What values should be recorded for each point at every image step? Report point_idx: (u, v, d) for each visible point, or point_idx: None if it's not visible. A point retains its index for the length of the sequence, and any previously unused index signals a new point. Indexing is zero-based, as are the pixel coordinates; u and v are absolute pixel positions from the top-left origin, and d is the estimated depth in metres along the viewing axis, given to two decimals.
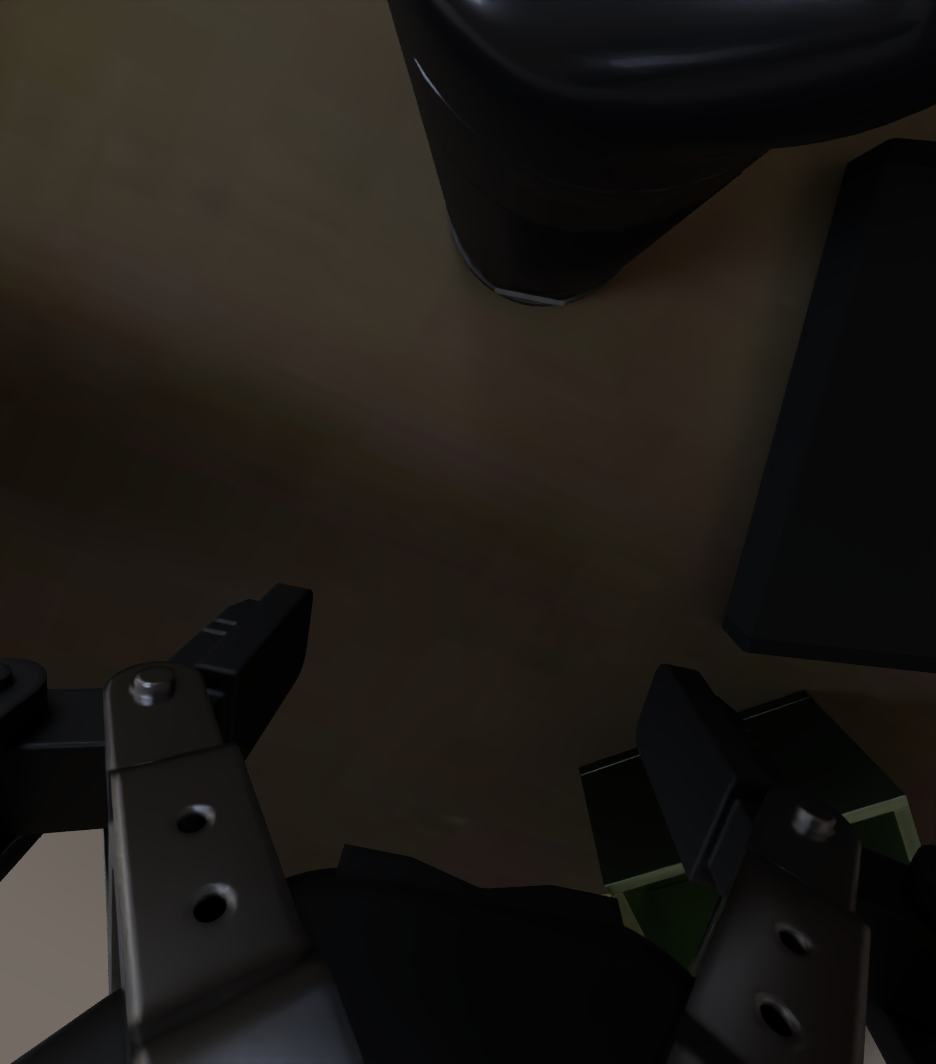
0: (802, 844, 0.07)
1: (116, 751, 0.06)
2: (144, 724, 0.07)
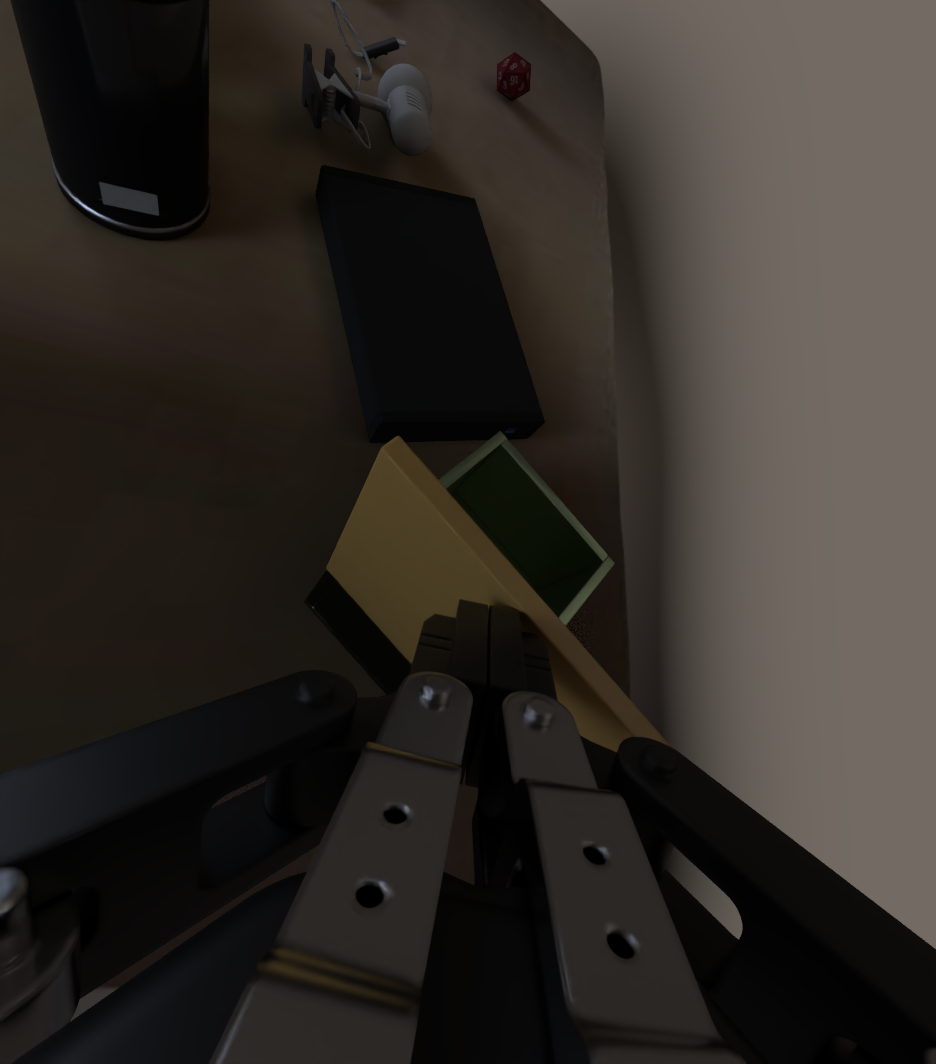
0: (512, 729, 0.08)
1: (387, 732, 0.07)
2: (454, 729, 0.08)
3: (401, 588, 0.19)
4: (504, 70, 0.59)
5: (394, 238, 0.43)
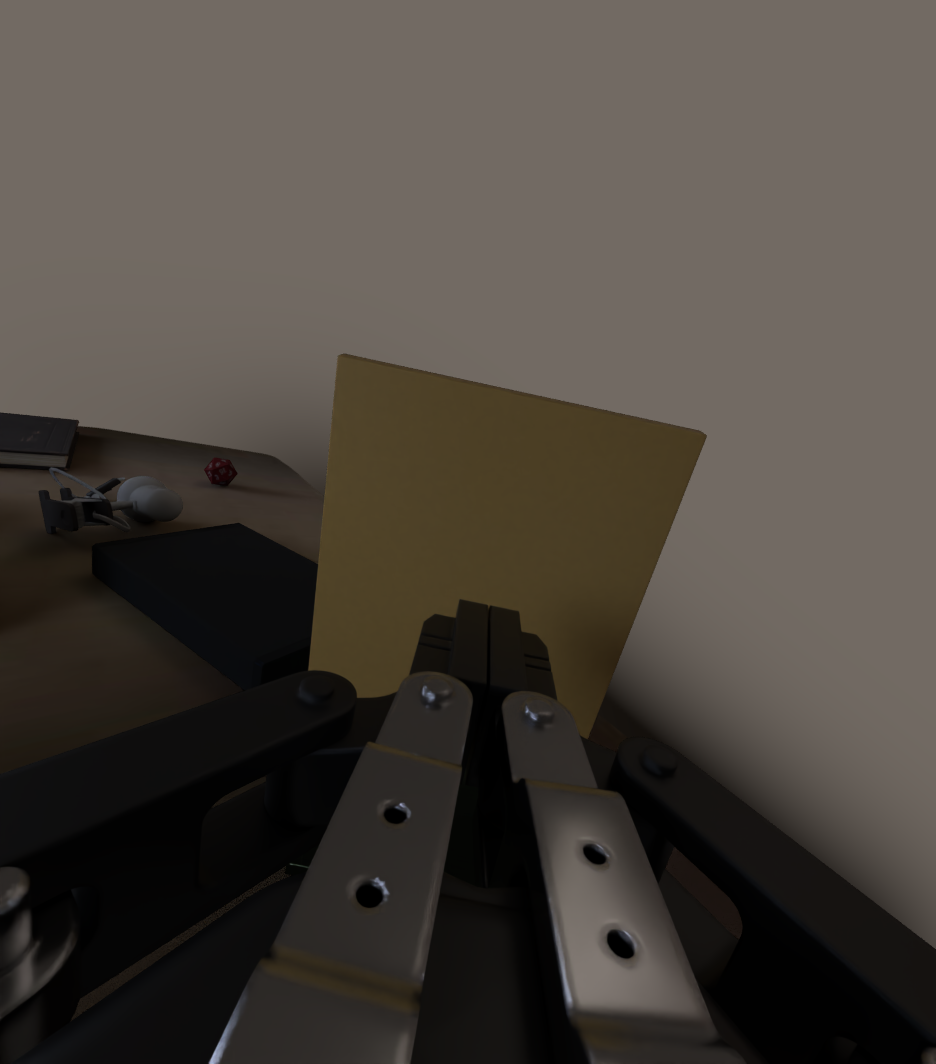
0: (512, 729, 0.08)
1: (386, 732, 0.07)
2: (454, 729, 0.08)
3: (401, 573, 0.19)
4: (212, 469, 0.75)
5: (188, 560, 0.46)
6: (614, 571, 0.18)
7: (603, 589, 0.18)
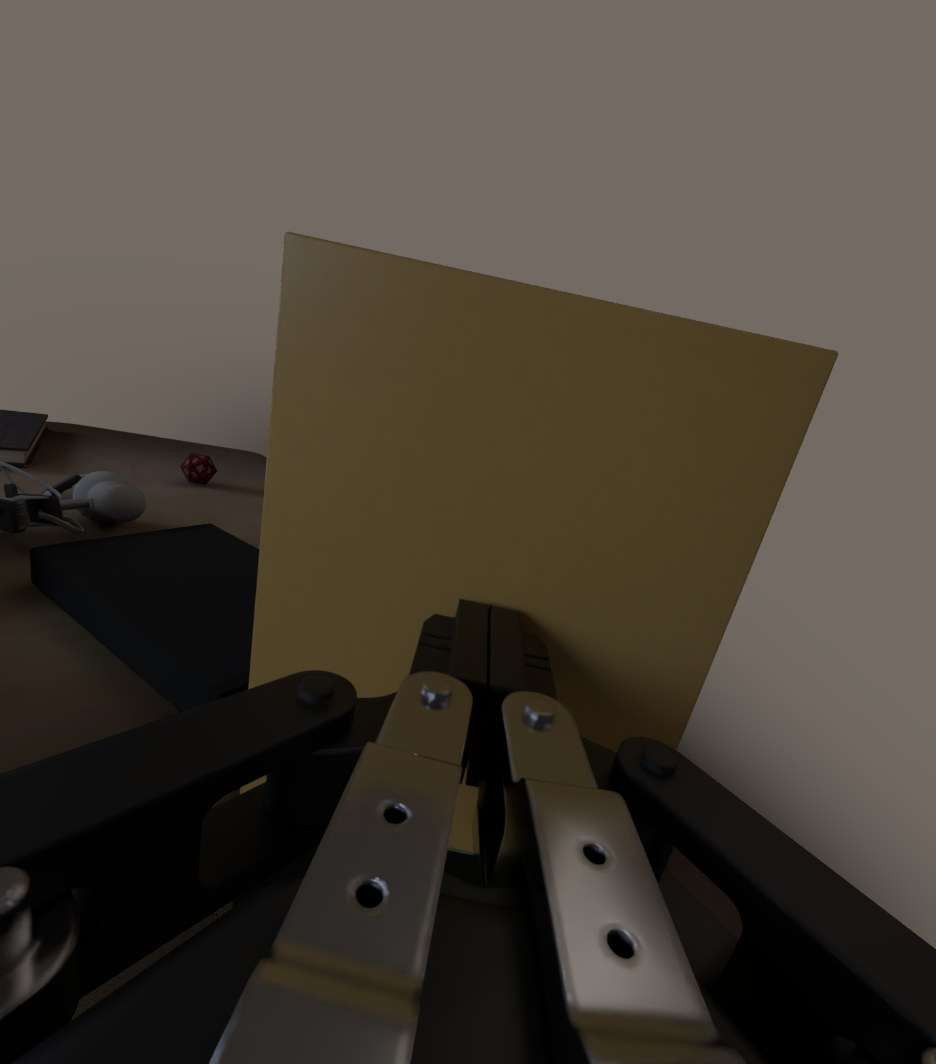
0: (512, 729, 0.08)
1: (387, 732, 0.07)
2: (454, 729, 0.08)
3: (380, 574, 0.13)
4: (188, 465, 0.69)
5: (144, 566, 0.40)
6: (694, 567, 0.12)
7: (677, 595, 0.12)
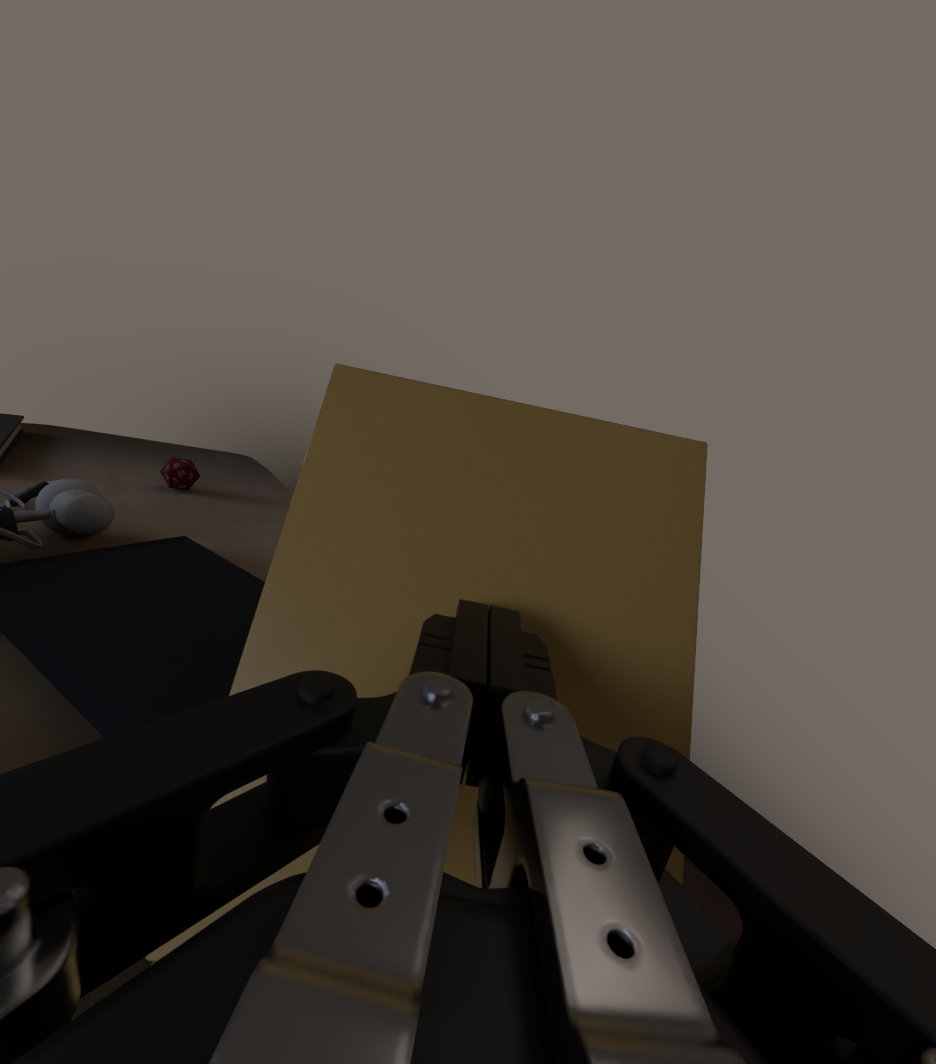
0: (511, 729, 0.08)
1: (387, 732, 0.07)
2: (454, 729, 0.08)
3: (376, 609, 0.14)
4: (168, 470, 0.65)
5: (102, 587, 0.35)
6: (652, 597, 0.14)
7: (645, 625, 0.14)
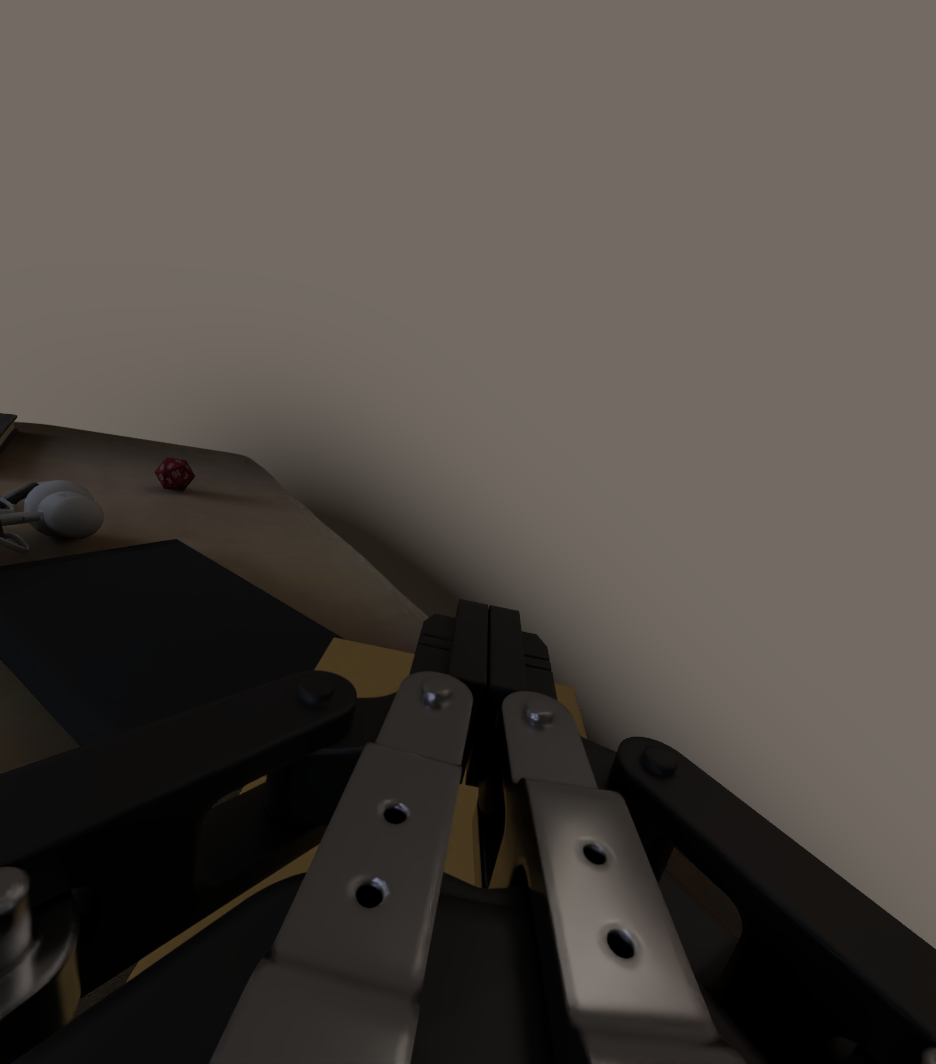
0: (511, 729, 0.08)
1: (386, 732, 0.07)
2: (454, 729, 0.08)
3: None
4: (163, 471, 0.63)
5: (88, 594, 0.34)
6: None
7: None
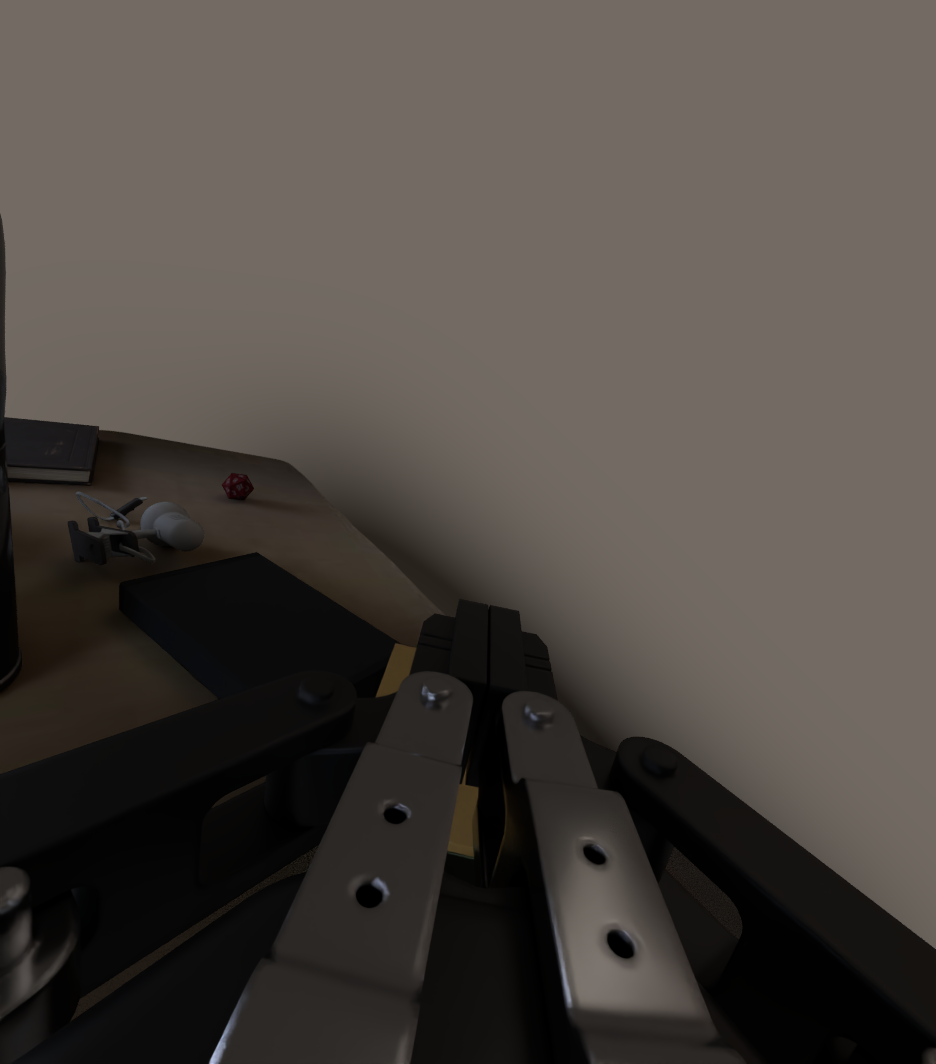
0: (512, 729, 0.08)
1: (386, 732, 0.07)
2: (454, 729, 0.08)
3: None
4: (229, 485, 0.77)
5: (210, 599, 0.48)
6: None
7: None
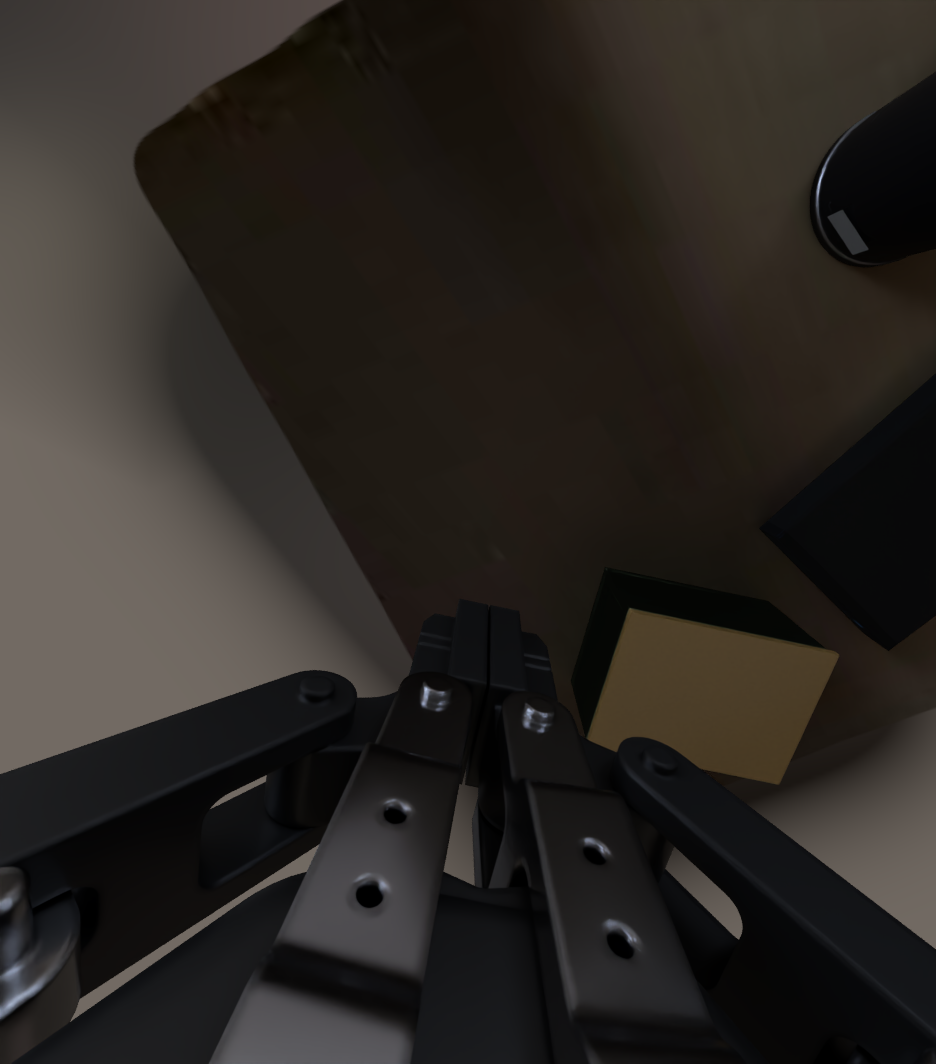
0: (511, 729, 0.08)
1: (387, 732, 0.07)
2: (454, 729, 0.08)
3: (730, 672, 0.38)
4: None
5: None
6: (720, 758, 0.40)
7: (711, 754, 0.40)
